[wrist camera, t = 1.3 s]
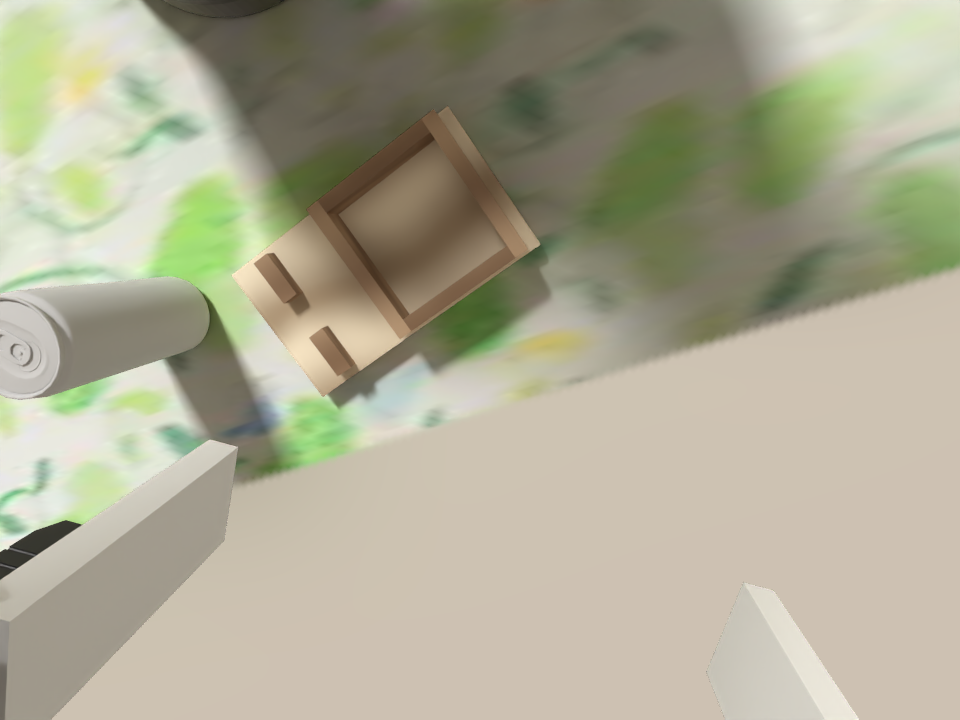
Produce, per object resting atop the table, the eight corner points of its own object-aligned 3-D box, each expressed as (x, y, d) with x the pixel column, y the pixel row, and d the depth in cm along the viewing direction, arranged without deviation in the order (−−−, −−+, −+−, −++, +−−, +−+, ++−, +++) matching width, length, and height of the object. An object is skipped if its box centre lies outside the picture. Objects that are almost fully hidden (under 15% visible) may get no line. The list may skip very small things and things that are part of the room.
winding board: (241, 274, 35) (213, 277, 32) (450, 110, 32) (442, 97, 29) (329, 391, 37) (310, 406, 33) (540, 244, 33) (541, 244, 30)
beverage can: (196, 364, 37) (41, 422, 25) (130, 326, 37) (-57, 367, 25) (226, 299, 36) (79, 329, 24) (158, 260, 36) (-23, 270, 24)
